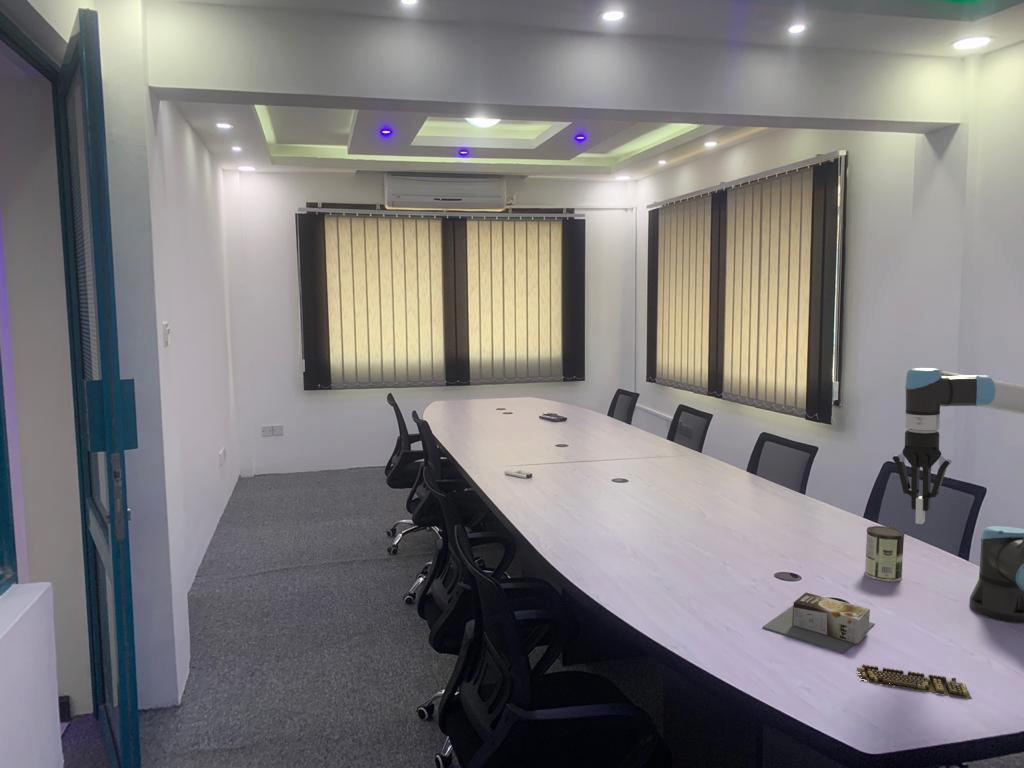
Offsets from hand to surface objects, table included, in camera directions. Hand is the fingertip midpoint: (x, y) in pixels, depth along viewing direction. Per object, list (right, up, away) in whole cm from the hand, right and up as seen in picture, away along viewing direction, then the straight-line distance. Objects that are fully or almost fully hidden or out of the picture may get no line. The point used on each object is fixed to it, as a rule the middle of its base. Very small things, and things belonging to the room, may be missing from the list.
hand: (920, 522), depth 186 cm
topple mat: (-24, -27, +3) cm, 37 cm away
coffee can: (+10, -24, +39) cm, 47 cm away
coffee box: (-16, -25, -5) cm, 30 cm away
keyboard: (-15, -31, -24) cm, 42 cm away
